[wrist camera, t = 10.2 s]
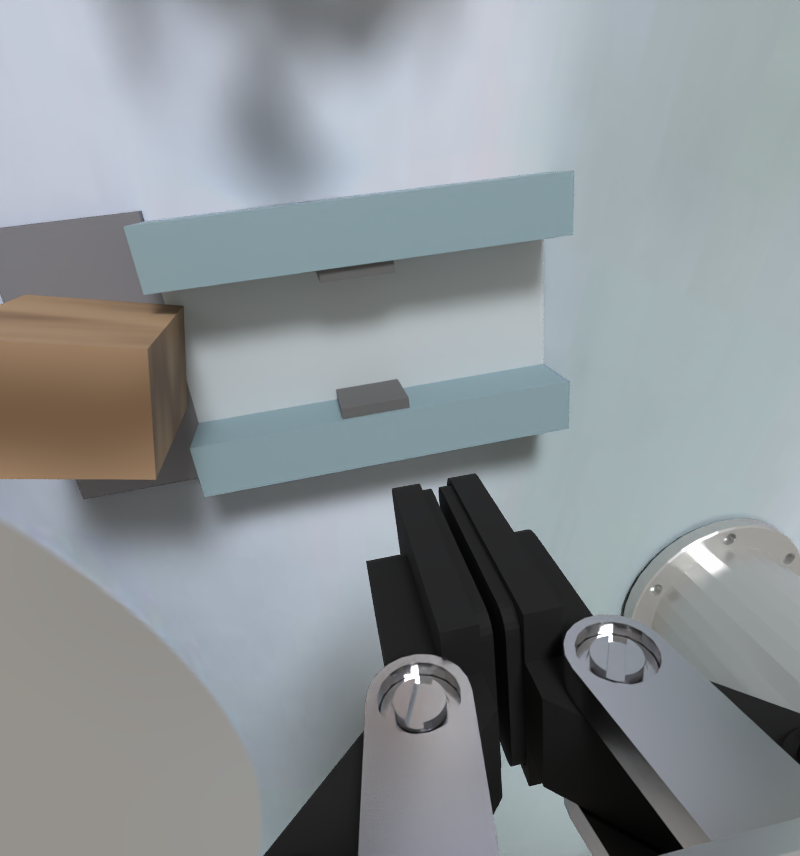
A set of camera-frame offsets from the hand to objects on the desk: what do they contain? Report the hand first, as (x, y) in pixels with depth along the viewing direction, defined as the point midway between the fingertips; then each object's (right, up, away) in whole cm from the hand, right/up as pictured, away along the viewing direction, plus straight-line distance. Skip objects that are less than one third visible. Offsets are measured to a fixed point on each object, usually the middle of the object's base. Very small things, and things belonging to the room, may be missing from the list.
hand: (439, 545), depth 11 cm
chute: (-2, +7, +15) cm, 17 cm away
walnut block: (-13, +6, +13) cm, 19 cm away
